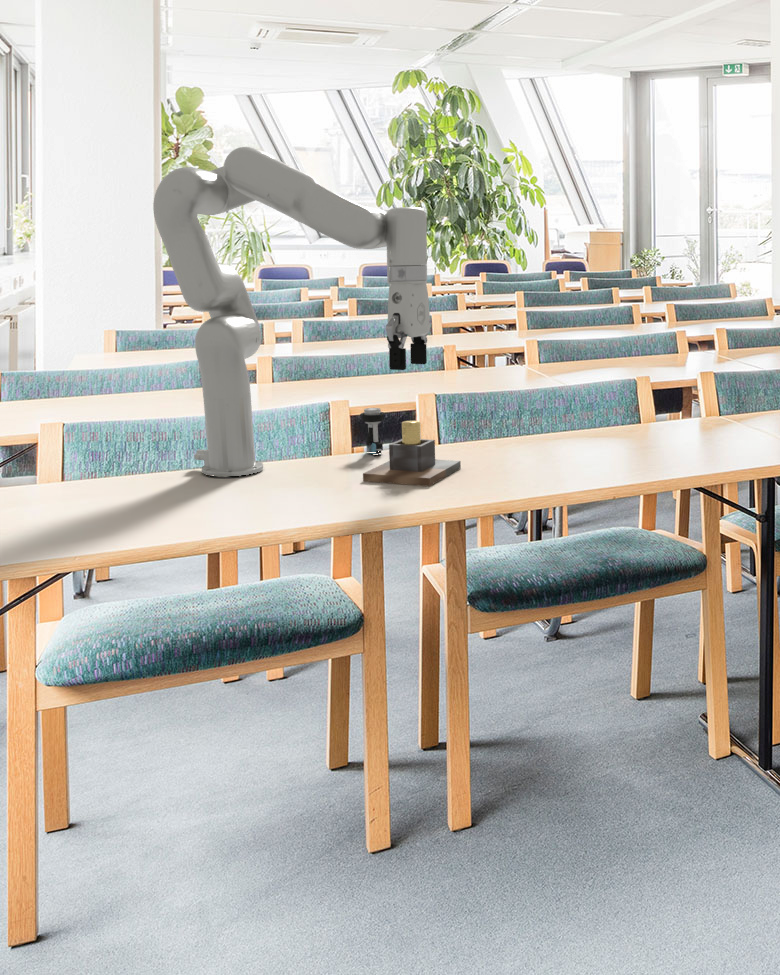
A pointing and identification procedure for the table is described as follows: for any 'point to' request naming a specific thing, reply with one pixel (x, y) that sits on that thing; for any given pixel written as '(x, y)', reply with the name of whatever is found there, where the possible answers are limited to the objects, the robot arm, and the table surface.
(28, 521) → the table surface
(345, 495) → the table surface
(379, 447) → the push button
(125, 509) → the table surface
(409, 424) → the hinge pin
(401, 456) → the base with square socket
